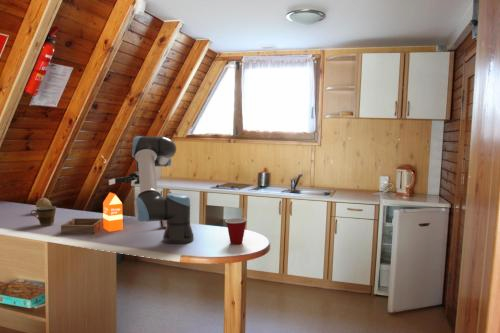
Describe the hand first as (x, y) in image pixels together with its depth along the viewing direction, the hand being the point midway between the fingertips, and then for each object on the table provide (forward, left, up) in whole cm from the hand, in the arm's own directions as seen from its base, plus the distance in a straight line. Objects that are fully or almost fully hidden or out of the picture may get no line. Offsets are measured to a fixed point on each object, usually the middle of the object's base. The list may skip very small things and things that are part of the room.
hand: (120, 183), depth 233 cm
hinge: (-2, -30, -24) cm, 38 cm away
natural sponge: (+28, +57, -24) cm, 68 cm away
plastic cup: (-37, -67, -24) cm, 80 cm away
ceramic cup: (-4, +42, -24) cm, 49 cm away
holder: (-14, +16, -24) cm, 32 cm away
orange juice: (-11, +1, -24) cm, 27 cm away
